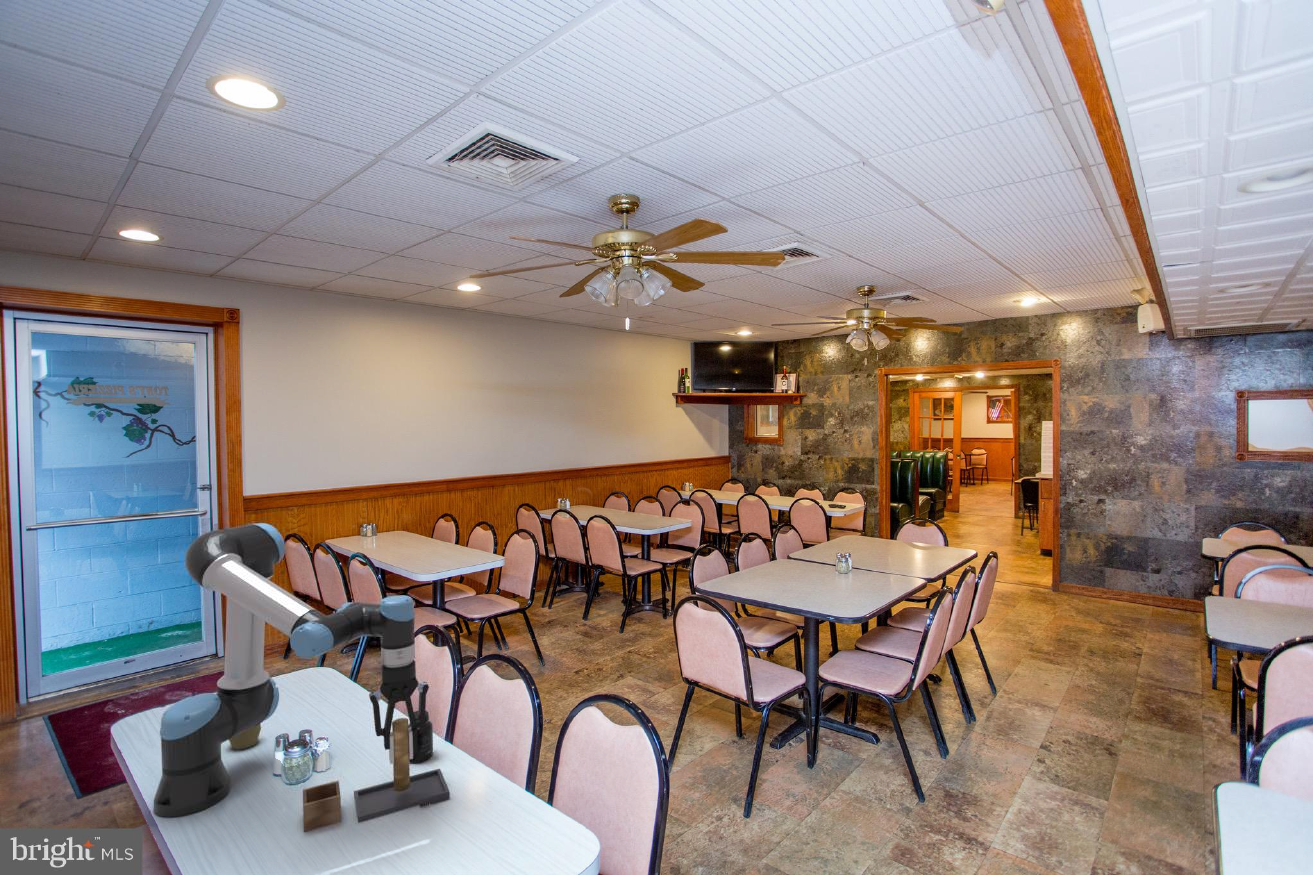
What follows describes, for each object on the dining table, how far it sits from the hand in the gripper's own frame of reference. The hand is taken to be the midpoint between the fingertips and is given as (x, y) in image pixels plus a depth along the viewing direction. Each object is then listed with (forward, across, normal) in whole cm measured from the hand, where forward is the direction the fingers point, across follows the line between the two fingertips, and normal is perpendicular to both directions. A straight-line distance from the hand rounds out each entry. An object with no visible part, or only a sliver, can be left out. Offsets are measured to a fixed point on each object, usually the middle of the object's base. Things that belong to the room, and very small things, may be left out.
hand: (401, 758), depth 154 cm
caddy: (+10, -17, 0) cm, 20 cm away
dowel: (+7, 0, 0) cm, 7 cm away
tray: (+10, 0, 0) cm, 10 cm away
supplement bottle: (+10, +7, +18) cm, 22 cm away
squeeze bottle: (+10, -35, +51) cm, 63 cm away
